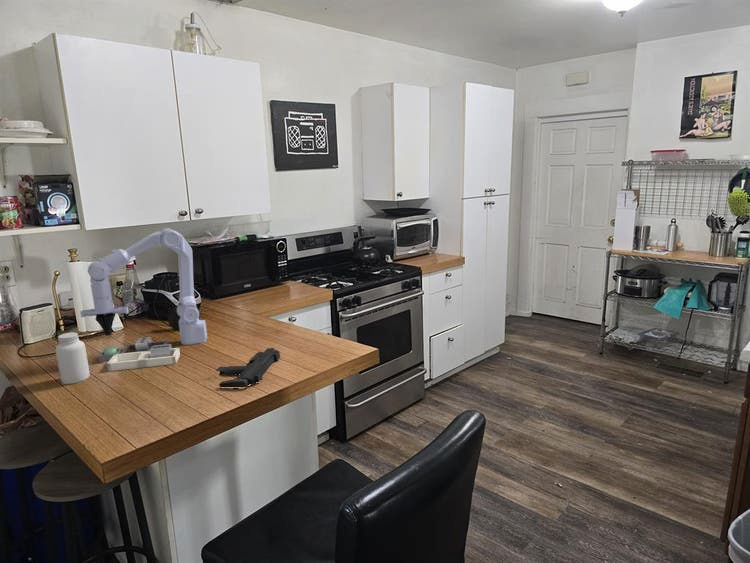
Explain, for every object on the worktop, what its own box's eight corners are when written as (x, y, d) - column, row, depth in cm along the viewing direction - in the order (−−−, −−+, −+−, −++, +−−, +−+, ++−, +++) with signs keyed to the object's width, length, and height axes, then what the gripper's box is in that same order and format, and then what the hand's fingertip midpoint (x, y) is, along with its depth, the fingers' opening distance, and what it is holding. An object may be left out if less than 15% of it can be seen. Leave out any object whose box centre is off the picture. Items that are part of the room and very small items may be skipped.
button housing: (123, 356, 175) (122, 348, 174) (118, 362, 169) (117, 354, 169) (105, 357, 174) (103, 350, 173) (99, 364, 168) (98, 356, 167)
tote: (168, 346, 183) (167, 340, 182) (162, 358, 171) (161, 351, 171) (128, 351, 180) (127, 344, 179) (119, 363, 168) (118, 356, 168)
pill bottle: (60, 386, 151) (51, 340, 147) (62, 377, 158) (54, 333, 154) (89, 381, 154) (81, 336, 151) (90, 372, 161) (83, 329, 158)
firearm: (231, 355, 176) (285, 353, 173) (191, 392, 147) (254, 390, 144) (230, 347, 176) (284, 344, 173) (189, 382, 146) (253, 380, 144)
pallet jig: (180, 357, 172) (179, 347, 171) (176, 366, 164) (175, 356, 163) (115, 363, 168) (114, 354, 167) (108, 374, 159) (106, 364, 158)
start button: (119, 354, 174) (117, 346, 173) (115, 358, 170) (114, 350, 169) (106, 355, 173) (105, 347, 172) (103, 359, 169) (102, 351, 168)
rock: (202, 326, 206) (200, 303, 204) (199, 329, 203) (197, 306, 200) (172, 327, 206) (169, 305, 204) (168, 330, 202) (165, 307, 200)
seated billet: (154, 359, 168) (152, 345, 167) (173, 357, 169) (171, 343, 168) (152, 363, 164) (149, 349, 163) (171, 361, 165) (169, 347, 164)
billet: (152, 349, 179) (150, 336, 178) (149, 355, 173) (147, 341, 172) (140, 351, 178) (138, 337, 177) (136, 356, 172) (134, 343, 171)
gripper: (128, 292, 172) (133, 328, 175) (83, 295, 169) (89, 333, 172) (123, 296, 165) (128, 335, 168) (75, 300, 162) (82, 339, 165)
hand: (108, 334), depth 170 cm, fingers closed
